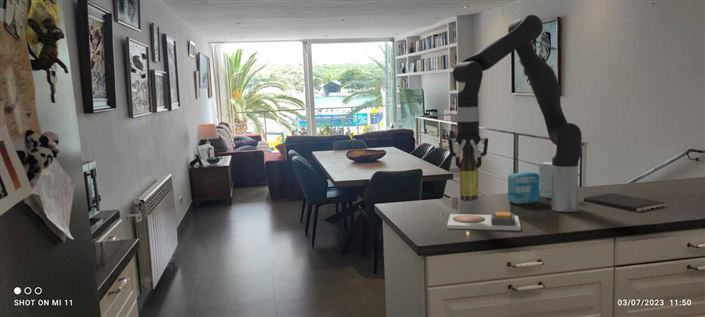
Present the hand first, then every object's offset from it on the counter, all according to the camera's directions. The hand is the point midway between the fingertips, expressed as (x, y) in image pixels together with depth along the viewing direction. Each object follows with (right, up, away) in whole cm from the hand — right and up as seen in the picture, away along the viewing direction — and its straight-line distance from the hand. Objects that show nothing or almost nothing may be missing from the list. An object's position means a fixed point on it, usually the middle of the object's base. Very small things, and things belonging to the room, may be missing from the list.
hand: (468, 167), depth 181 cm
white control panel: (+5, -20, 0) cm, 20 cm away
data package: (+30, -15, +32) cm, 46 cm away
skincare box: (+44, -14, +39) cm, 61 cm away
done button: (+11, -18, -5) cm, 21 cm away
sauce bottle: (+1, -12, +2) cm, 12 cm away
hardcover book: (+66, -16, +22) cm, 71 cm away
